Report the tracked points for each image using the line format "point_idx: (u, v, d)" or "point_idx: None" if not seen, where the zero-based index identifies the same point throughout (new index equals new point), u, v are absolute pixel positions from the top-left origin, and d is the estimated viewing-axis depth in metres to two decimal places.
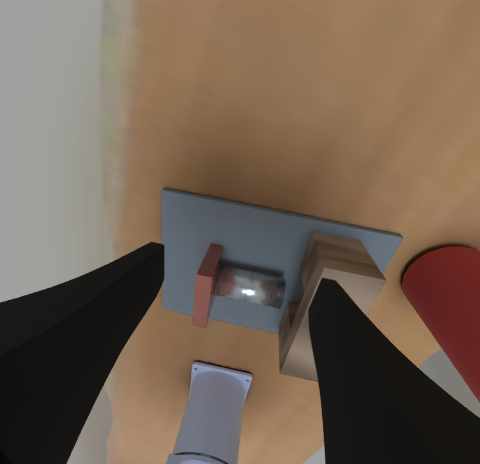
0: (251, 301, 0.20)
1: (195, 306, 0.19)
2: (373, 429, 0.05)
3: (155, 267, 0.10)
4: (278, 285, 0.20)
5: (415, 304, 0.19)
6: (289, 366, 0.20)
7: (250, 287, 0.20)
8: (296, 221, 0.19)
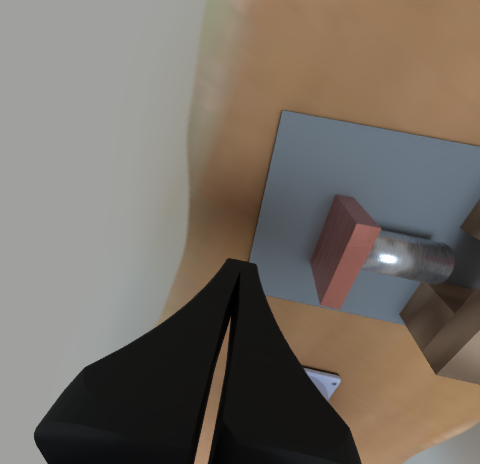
0: (401, 272, 0.14)
1: (336, 276, 0.13)
2: (223, 395, 0.05)
3: (237, 284, 0.10)
4: (442, 249, 0.14)
5: None
6: (456, 364, 0.14)
7: (405, 251, 0.14)
8: (478, 155, 0.13)
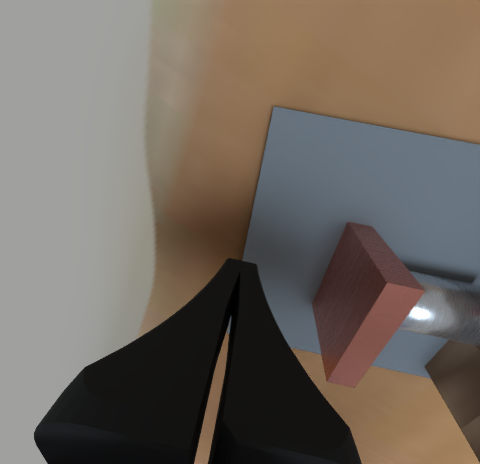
0: (439, 334, 0.10)
1: (351, 349, 0.09)
2: (223, 395, 0.05)
3: (237, 284, 0.10)
4: None
5: None
6: None
7: (447, 307, 0.10)
8: None
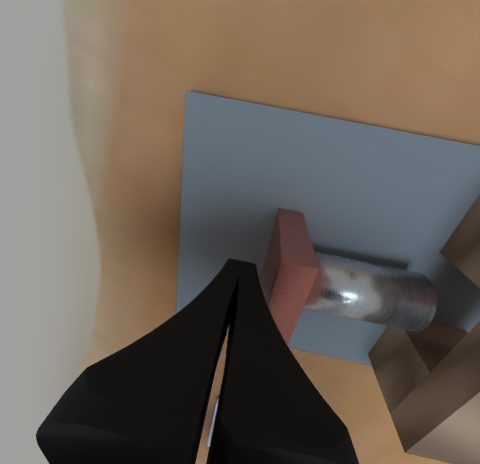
0: (364, 317, 0.10)
1: None
2: (221, 394, 0.05)
3: None
4: (420, 286, 0.10)
5: None
6: (431, 443, 0.10)
7: (367, 290, 0.10)
8: (462, 154, 0.09)
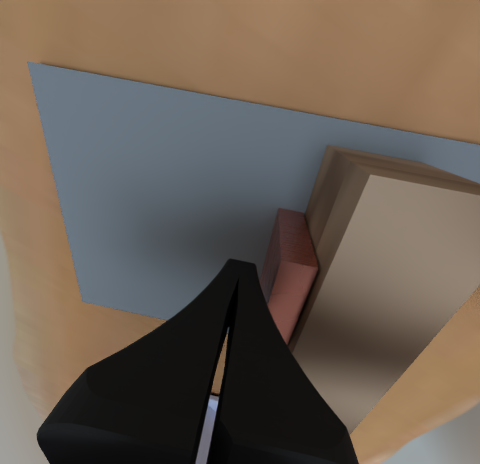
0: None
1: None
2: (221, 394, 0.05)
3: None
4: None
5: None
6: None
7: None
8: (294, 122, 0.10)
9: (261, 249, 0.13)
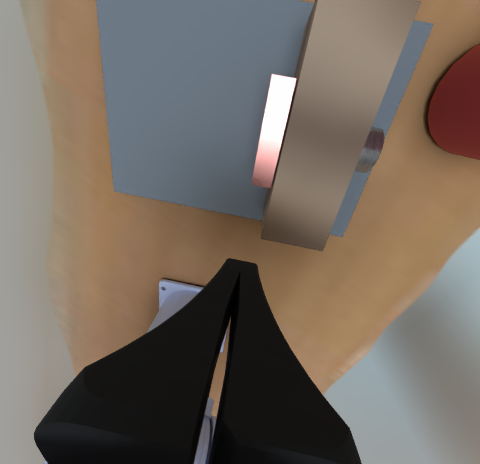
0: None
1: (261, 145, 0.13)
2: (223, 395, 0.05)
3: (237, 284, 0.10)
4: (373, 129, 0.14)
5: (451, 119, 0.13)
6: (273, 222, 0.14)
7: None
8: (282, 7, 0.14)
9: (259, 124, 0.17)
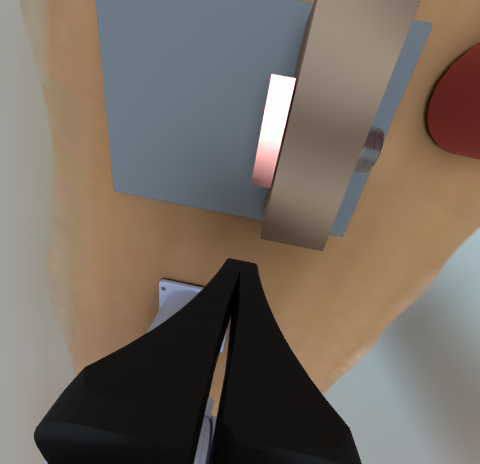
0: None
1: (261, 145, 0.13)
2: (223, 395, 0.05)
3: (237, 284, 0.10)
4: (373, 129, 0.14)
5: (450, 119, 0.13)
6: (273, 221, 0.14)
7: None
8: (282, 7, 0.14)
9: (258, 124, 0.17)
